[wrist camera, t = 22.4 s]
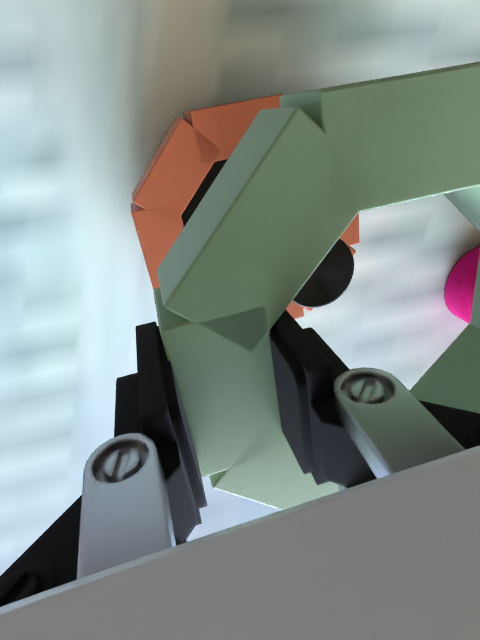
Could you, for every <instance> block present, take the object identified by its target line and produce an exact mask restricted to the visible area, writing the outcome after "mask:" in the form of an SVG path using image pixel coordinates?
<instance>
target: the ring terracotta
mask: <svg viewBox="0 0 480 640" xmlns="http://www.w3.org/2000/svg"><path fill="white" fill-rule="evenodd" d="M280 96H282V94H278V95H273V96H267V97H262V98H256V99H251V100H245V101H240V102H234V103H229V104H224V105H218V106H213V107H207V108H202V109H197V110H191V111H186V112H184V115H185V120H184V119H183V118H176V119H175V120H174V122H173V124H172V125H171V127H170V129H169V131H168V132H167V134H166V136H165V137H164V139H163V141H162V143H161V144H160V146H159V148H158V150H157V151H156V153H155V155H154V156H153V158H152V160H151V162H150V163H149V165H148V167H147V169H146V170H145V172H144V174H143V175H142V177H141V179H140V181H139V182H138V184H137V186H136V188H135V189H134V191H133V193H132V199H133V202H134V203H132V204H131V213H132V217H133V220H134V224H135V227H136V231H137V234H138V237H139V241H140V244H141V248H142V251H143V255H144V258H145V262H146V265H147V269H148V272H149V276H150V279H151V282H152V286H153V289H156V288H160V285H159V280H158V275H157V268H158V267H159V265H160V264H161V262H162V261H163V259H164V258H165V256H166V254H167V253H168V251H169V250H170V248H171V247H172V245H173V244H174V242H175V241H176V239H177V237H178V236H179V234H180V233H181V231H182V230H183V228H184V225H183V221H182V217H181V215H182V213H183V212H184V210H185V208H186V207H187V205H188V204H189V202H190V200H191V199H192V197H193V196H194V194H195V192H196V191H197V189H198V188H199V186H200V184H201V183H202V181H203V179H204V178H205V176H206V175H207V173H208V171H209V170H210V168H211V167H212V165H213V163H214V162H216V161H220V160H225V159H228V158H229V157H230V155H231V154H232V152H233V151H234V149H235V148H236V146H237V144H238V143H239V141H240V140H241V138H242V137H243V135H244V134H245V132H246V131H247V129H248V127H249V126H250V124H251V123H252V121H253V120H254V118H255V117H256V115H257V113H258V112H259V111H260V110H264V109H275V108H280V102H279V99H280ZM340 239H342V240H343V241H344V242H345V243H346V244H347V245H348V246H349V245H353V244H357V243H359V213H358V214H357V215H356V217H355V218H354V219H353V221H352V222H351V223H350V225H349V226H348V227H347V229H346V230H345V231H344V233H343V234H342V235H341V237H340ZM349 248H350V250H351V252H352V255H354V254H355V252H356V251H355V250H354V249H353V248H352V247H350V246H349ZM303 308H305V309H307V310H308V311H311V310H312V309H313V308H307V307H302V306H299V305H297V304H296V303H294V302H293V301H291V303H290V304H289V305H288V307H287V308H286V310H287V311H288V312H289V314H290V315H291V316H292V317H293V318H294V319H297V318H300V317H303V316H304V312H303Z"/></svg>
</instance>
